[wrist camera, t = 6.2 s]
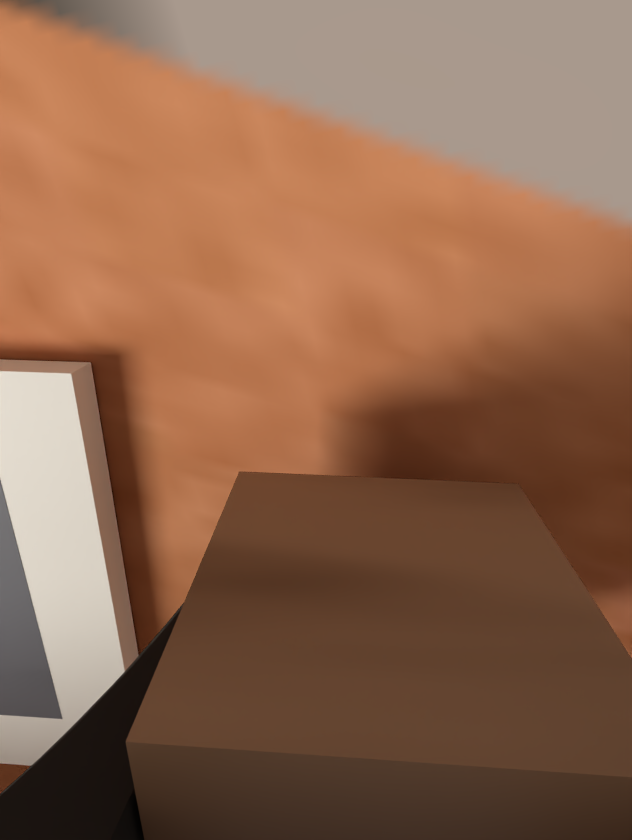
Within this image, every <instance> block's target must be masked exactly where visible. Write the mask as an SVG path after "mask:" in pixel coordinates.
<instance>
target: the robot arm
mask: <svg viewBox="0 0 632 840" xmlns="http://www.w3.org/2000/svg"><path fill="white" fill-rule="evenodd" d="M183 604H184V603H183ZM183 604H182V606H181V607H180V608H179V609H178V610H177V612H176V613H175V614H174V615H173V617H172V618H171V619H170V620H169V621H168V623H167V624H166V625H165V626H164V627H163V628H162V630H161V631H160V632H159V633H158V634H157V636H156V637H155V638H154V639H153V640H152V641H151V643H150V644H149V645H148V646H147V647H146V648H145V649H144V650H143V652H142V653H141V654H140V655H139V656H138V657H137V658H136V659H135V661H134V662H133V663H132V664H131V665H130V666H129V667H128V668H127V669H126V671H125V672H124V673H123V674H122V675H121V676H120V677H119V678H118V679H117V681H116V682H115V683H114V684H113V685H112V686H111V687H110V688H109V689H108V690H107V691H106V692H105V693H104V694H103V695H102V696H101V697H100V698H99V699H98V700H97V701H96V702H95V703H94V704H93V705H92V706H91V707H90V709H89V710H88V711H87V712H86V713H85V714H84V715H83V716H82V717H81V718H80V719H79V720H78V721H77V722H76V723H75V724H74V725H73V726H72V727H71V728H70V729H69V730H68V731H67V732H66V733H65V734H64V735H63V736H62V737H61V738H60V739H59V740H58V741H57V742H56V743H55V744H54V745H53V746H52V747H51V748H49V749H48V750H47V751H46V752H45V753H44V754H43V755H42V756H41V757H40V758H39V759H38V760H37V761H36V762H35V763H34V764H33V765H31V766H30V767H29V768H28V769H27V770H26V771H25V772H24V773H23V774H22V775H21V776H19V777H18V778H17V779H16V780H15V781H14V782H13V783H12V784H11V785H10V786H8V787H7V788H6V789H5V790H4V791H3V792H2V793H1V794H0V840H144V835H143V830H142V825H141V820H140V814H139V809H138V804H137V799H136V794H135V789H134V783H133V778H132V773H131V768H130V763H129V757H128V752H127V747H126V739H127V737H128V735H129V732H130V730H131V728H132V725H133V723H134V720H135V718H136V716H137V713H138V711H139V709H140V706H141V704H142V701H143V699H144V697H145V694H146V692H147V690H148V687H149V685H150V682H151V680H152V678H153V675H154V673H155V671H156V668H157V666H158V663H159V661H160V659H161V656H162V654H163V652H164V649H165V647H166V644H167V642H168V640H169V637H170V635H171V633H172V630H173V628H174V626H175V623H176V621H177V618H178V616H179V614H180V611H181V609H182V607H183Z"/></svg>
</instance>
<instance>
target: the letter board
mask: <svg viewBox="0 0 632 840" xmlns="http://www.w3.org/2000/svg"><path fill="white" fill-rule="evenodd" d="M138 656H139V655H138V649H137V643H136V637H135V630H134V624H133V618H132V612H131V606H130V600H129V594H128V587H127V581H126V575H125V569H124V563H123V557H122V551H121V545H120V538H119V532H118V526H117V520H116V514H115V508H114V502H113V495H112V489H111V483H110V477H109V471H108V465H107V459H106V452H105V446H104V440H103V434H102V428H101V422H100V416H99V409H98V403H97V397H96V391H95V385H94V379H93V373H92V367H91V362H64V361H34V360H4V359H0V763H2V764H15V765H29V766H31V765H33V764H34V763H35V762H36V761H37V760H38V759H39V758H40V757H41V756H42V755H43V754H44V753H45V752H46V751H47V750H48V749H49V748H51V747H52V746H53V745H54V744H55V743H56V742H57V741H58V740H59V739H60V738H61V737H62V736H63V735H64V734H65V733H66V732H67V731H68V730H69V729H70V728H71V727H72V726H73V725H74V724H75V723H76V722H77V721H78V720H79V719H80V718H81V717H82V716H83V715H84V714H85V713H86V712H87V711H88V710H89V709H90V707H91V706H92V705H93V704H94V703H95V702H96V701H97V700H98V699H99V698H100V697H101V696H102V695H103V694H104V693H105V692H106V691H107V690H108V689H109V688H110V687H111V686H112V685H113V684H114V683H115V682H116V681H117V679H118V678H119V677H120V676H121V675H122V674H123V673H124V672H125V671H126V669H127V668H128V667H129V666H130V665H131V664H132V663H133V662H134V661H135V659H136V658H137V657H138Z"/></svg>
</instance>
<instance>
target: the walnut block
mask: <svg viewBox="0 0 632 840" xmlns="http://www.w3.org/2000/svg"><path fill="white" fill-rule="evenodd" d="M126 747H127V752H128V757H129V763H130V768H131V773H132V778H133V783H134V789H135V794H136V799H137V804H138V809H139V814H140V820H141V825H142V830H143V835H144V840H632V658H631V657H630V655H629V654H628V652H627V651H626V649H625V648H624V646H623V645H622V643H621V641H620V640H619V638H618V637H617V635H616V634H615V632H614V631H613V629H612V628H611V626H610V624H609V623H608V621H607V620H606V618H605V617H604V615H603V614H602V612H601V610H600V609H599V607H598V606H597V604H596V603H595V601H594V600H593V598H592V597H591V595H590V593H589V592H588V590H587V589H586V587H585V586H584V584H583V583H582V581H581V580H580V578H579V576H578V575H577V573H576V572H575V570H574V569H573V567H572V566H571V564H570V563H569V561H568V559H567V558H566V556H565V555H564V553H563V552H562V550H561V549H560V547H559V546H558V544H557V542H556V541H555V539H554V538H553V536H552V535H551V533H550V532H549V530H548V529H547V527H546V525H545V524H544V522H543V521H542V519H541V518H540V516H539V515H538V513H537V512H536V510H535V508H534V507H533V505H532V504H531V502H530V501H529V499H528V498H527V496H526V495H525V493H524V491H523V490H522V488H521V487H520V485H519V484H514V483H491V482H468V481H445V480H422V479H399V478H376V477H353V476H330V475H307V474H285V473H262V472H239V474H238V476H237V478H236V481H235V483H234V486H233V488H232V490H231V493H230V495H229V497H228V500H227V502H226V505H225V507H224V509H223V512H222V514H221V516H220V519H219V521H218V524H217V526H216V528H215V531H214V533H213V535H212V538H211V540H210V542H209V545H208V547H207V550H206V552H205V554H204V557H203V559H202V561H201V564H200V566H199V569H198V571H197V573H196V576H195V578H194V580H193V583H192V585H191V588H190V590H189V592H188V595H187V597H186V599H185V602H184V604H183V607H182V609H181V611H180V614H179V616H178V618H177V621H176V623H175V626H174V628H173V630H172V633H171V635H170V637H169V640H168V642H167V644H166V647H165V649H164V652H163V654H162V656H161V659H160V661H159V663H158V666H157V668H156V671H155V673H154V675H153V678H152V680H151V682H150V685H149V687H148V690H147V692H146V694H145V697H144V699H143V701H142V704H141V706H140V709H139V711H138V713H137V716H136V718H135V720H134V723H133V725H132V728H131V730H130V732H129V735H128V737H127V739H126Z"/></svg>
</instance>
